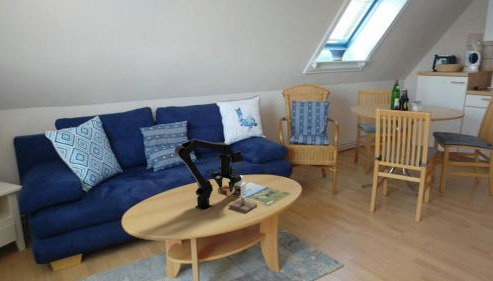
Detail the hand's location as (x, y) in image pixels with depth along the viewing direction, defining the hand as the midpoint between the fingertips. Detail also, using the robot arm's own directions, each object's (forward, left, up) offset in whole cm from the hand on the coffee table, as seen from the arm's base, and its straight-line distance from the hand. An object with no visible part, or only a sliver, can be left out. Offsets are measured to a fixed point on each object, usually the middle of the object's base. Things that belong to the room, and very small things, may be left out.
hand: (226, 190), depth 198 cm
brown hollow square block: (0, 0, -1) cm, 1 cm away
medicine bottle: (+13, +1, -7) cm, 15 cm away
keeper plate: (-1, -13, -7) cm, 15 cm away
